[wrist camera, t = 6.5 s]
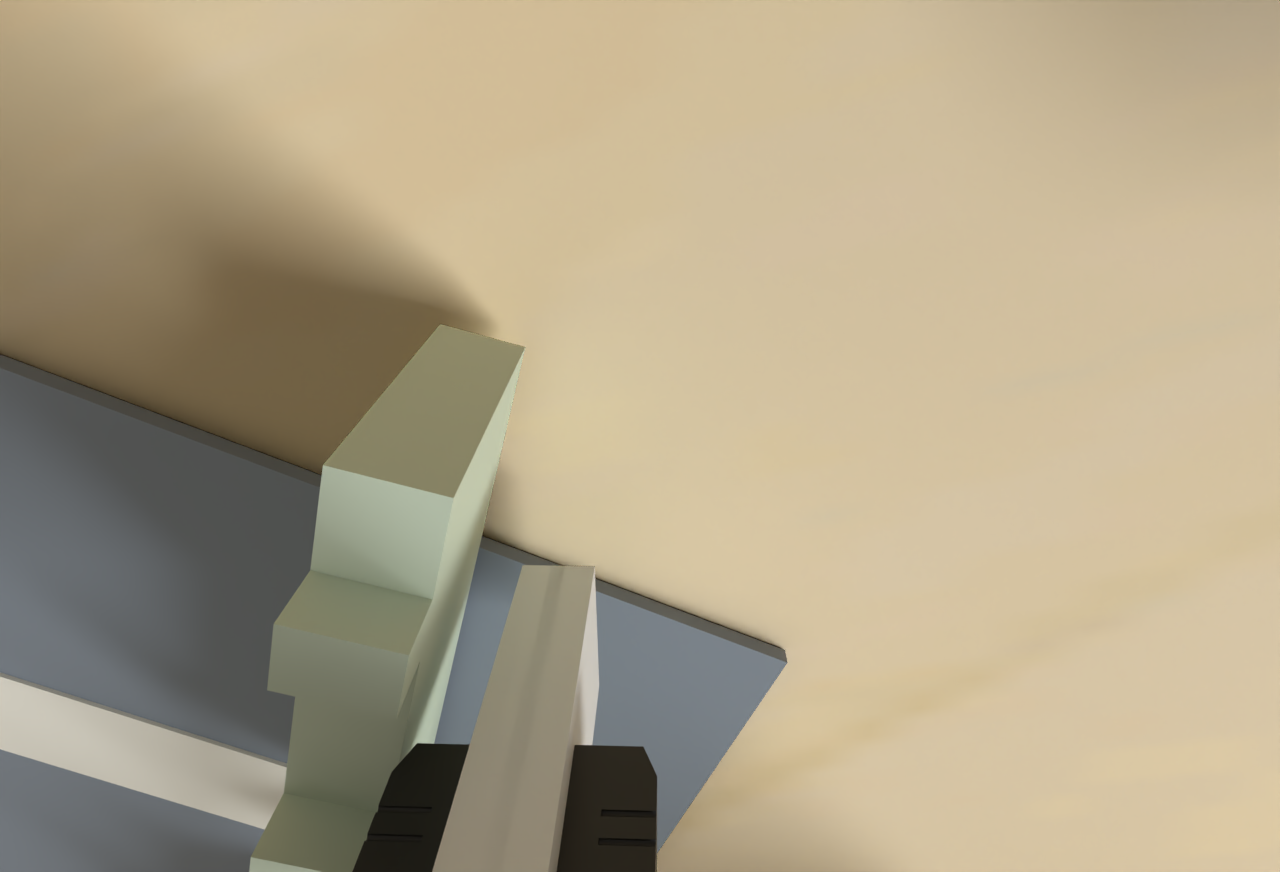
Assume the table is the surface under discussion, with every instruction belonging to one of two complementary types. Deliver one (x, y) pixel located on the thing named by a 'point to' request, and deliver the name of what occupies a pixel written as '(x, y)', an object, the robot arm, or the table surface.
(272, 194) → the table surface
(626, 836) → the robot arm
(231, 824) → the board
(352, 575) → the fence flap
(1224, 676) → the table surface
